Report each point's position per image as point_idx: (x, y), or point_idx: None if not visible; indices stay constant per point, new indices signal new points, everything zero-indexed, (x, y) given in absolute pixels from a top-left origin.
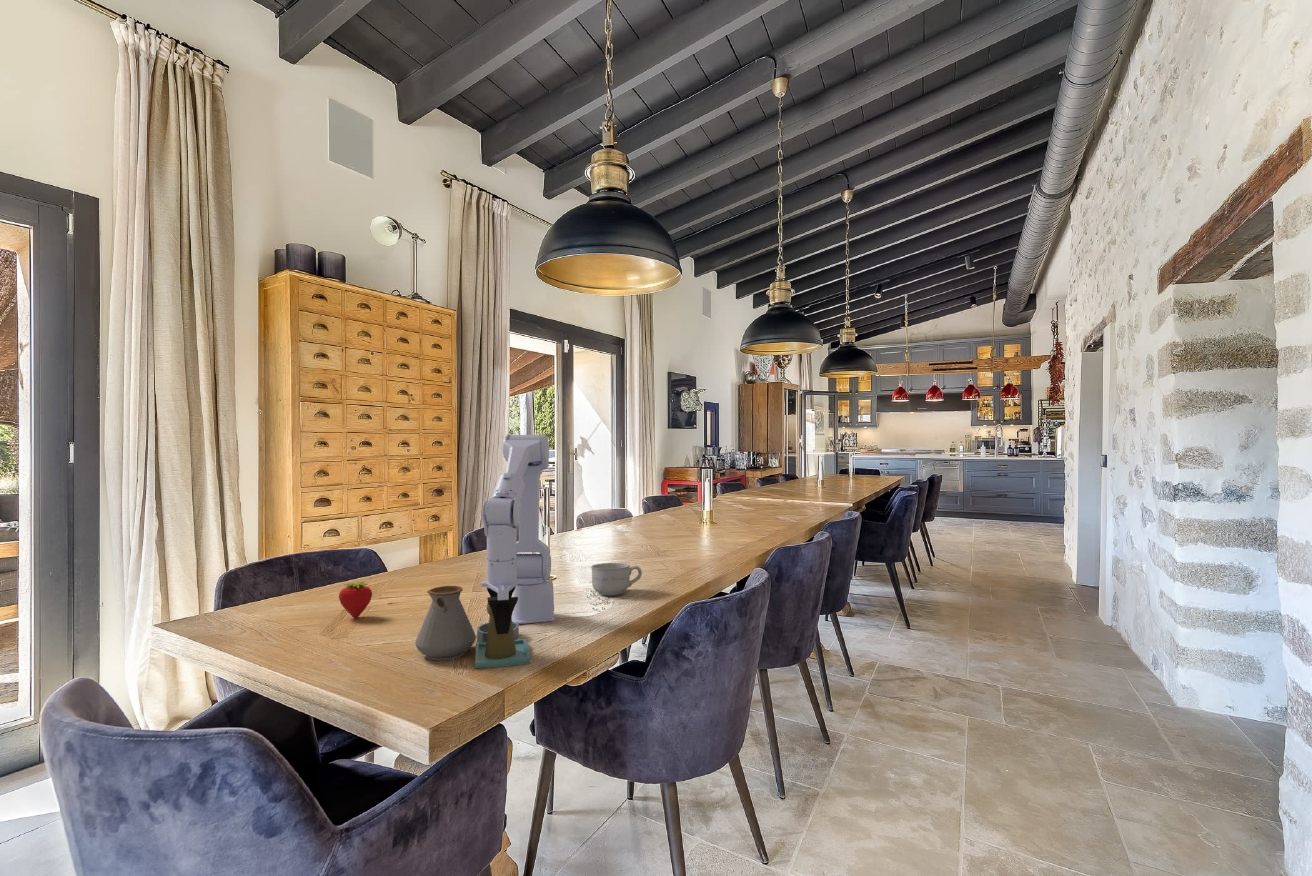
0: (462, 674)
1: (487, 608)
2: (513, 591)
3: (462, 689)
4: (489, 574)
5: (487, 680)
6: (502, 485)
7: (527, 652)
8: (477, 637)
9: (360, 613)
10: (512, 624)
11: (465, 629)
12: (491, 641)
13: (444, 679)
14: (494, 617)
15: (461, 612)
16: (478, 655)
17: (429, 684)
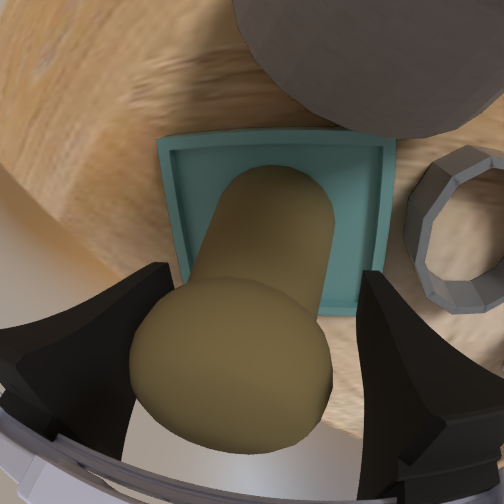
0: (132, 100)
1: (183, 299)
2: (359, 481)
3: (49, 127)
4: None
5: (90, 182)
6: None
7: None
8: (474, 150)
9: None
10: (500, 292)
11: (319, 83)
12: (216, 215)
13: (105, 56)
14: (84, 304)
15: (375, 43)
16: (233, 143)
17: (83, 28)
